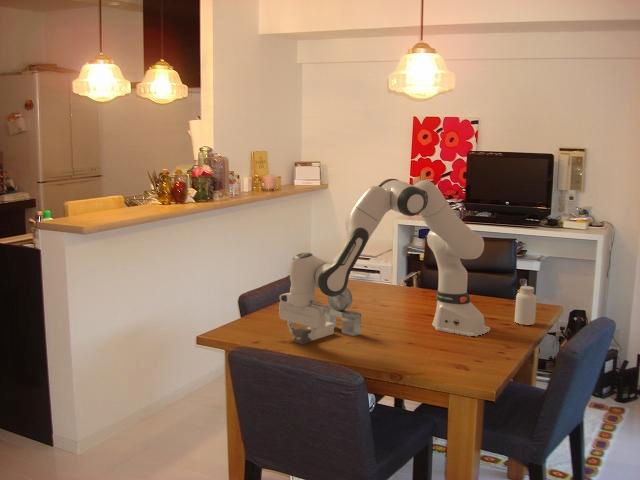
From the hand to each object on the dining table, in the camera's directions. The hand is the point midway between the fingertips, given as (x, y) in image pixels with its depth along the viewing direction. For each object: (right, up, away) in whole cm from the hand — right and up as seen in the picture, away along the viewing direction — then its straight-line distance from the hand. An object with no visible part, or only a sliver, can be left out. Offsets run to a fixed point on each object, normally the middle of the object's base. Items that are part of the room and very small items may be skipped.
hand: (301, 335), depth 260 cm
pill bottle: (+89, +1, +30) cm, 94 cm away
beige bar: (+5, -2, +6) cm, 7 cm away
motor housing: (+14, 0, +16) cm, 21 cm away
